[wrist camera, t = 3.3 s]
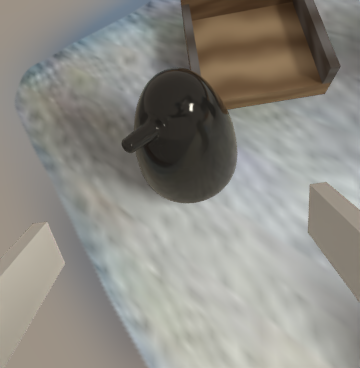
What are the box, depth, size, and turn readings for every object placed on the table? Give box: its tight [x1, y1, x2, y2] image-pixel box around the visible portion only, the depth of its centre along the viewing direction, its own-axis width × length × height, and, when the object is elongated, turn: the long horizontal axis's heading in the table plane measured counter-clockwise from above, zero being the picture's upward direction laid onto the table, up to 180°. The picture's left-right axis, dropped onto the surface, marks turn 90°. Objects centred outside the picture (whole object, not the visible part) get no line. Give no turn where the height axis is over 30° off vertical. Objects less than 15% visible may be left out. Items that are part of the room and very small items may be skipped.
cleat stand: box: [181, 0, 341, 109], centre depth 32 cm, size 15×16×10 cm
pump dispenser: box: [122, 68, 237, 203], centre depth 25 cm, size 10×10×15 cm
